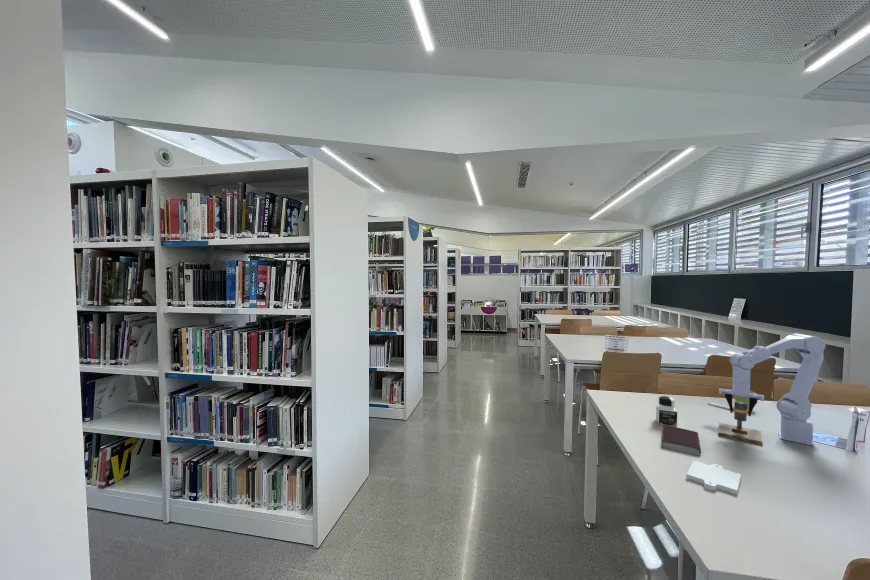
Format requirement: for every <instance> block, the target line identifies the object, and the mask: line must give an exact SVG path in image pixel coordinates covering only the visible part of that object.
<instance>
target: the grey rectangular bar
mask: <svg viewBox="0 0 870 580" xmlns="http://www.w3.org/2000/svg"><path fill="white" fill-rule="evenodd" d="M706 404H707V406H710V407H714V408H717V409H722V410H726V411H730V407H729V406H724V405H721V404H718V403H713V402H707V403H706ZM733 413H734V411H733Z"/></svg>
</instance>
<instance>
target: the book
mask: <svg viewBox="0 0 870 580" xmlns="http://www.w3.org/2000/svg"><path fill="white" fill-rule="evenodd" d="M661 440H662V441H661V442H662V444H661V448H664V449H665V448H666V449H668V450H674V451H679V452H682V451H683V453H687V452H689V453H688V454H692V453H694V454H693V455H696V454H699V455H698V456H701V454H702V450H701V445H700V438H699V432H697V431H695V430H690V429H685V428H682V427H678V426H677V427H674V426H667V425H662V439H661Z"/></svg>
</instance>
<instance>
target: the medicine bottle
mask: <svg viewBox="0 0 870 580" xmlns="http://www.w3.org/2000/svg"><path fill="white" fill-rule="evenodd" d="M675 403H676V402H675V398H673V397H671V396H666V395H664V396H663V395H661V396H659V398H658V404H656V405H655V407H656V408H655V420H656V421H657V424H658V425H660V426H664V425H667V426H672V427H674V426H675V427H677V428H678V411H677V409H676V408H675Z"/></svg>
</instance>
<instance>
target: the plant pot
mask: <svg viewBox="0 0 870 580" xmlns="http://www.w3.org/2000/svg"><path fill="white" fill-rule="evenodd" d="M750 393H754V394H757V393H756V392H754V391H752V390H750ZM735 402H743V403H746V404H747V409H748V410H749V398H744V397H738V396H734V403H735Z"/></svg>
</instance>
